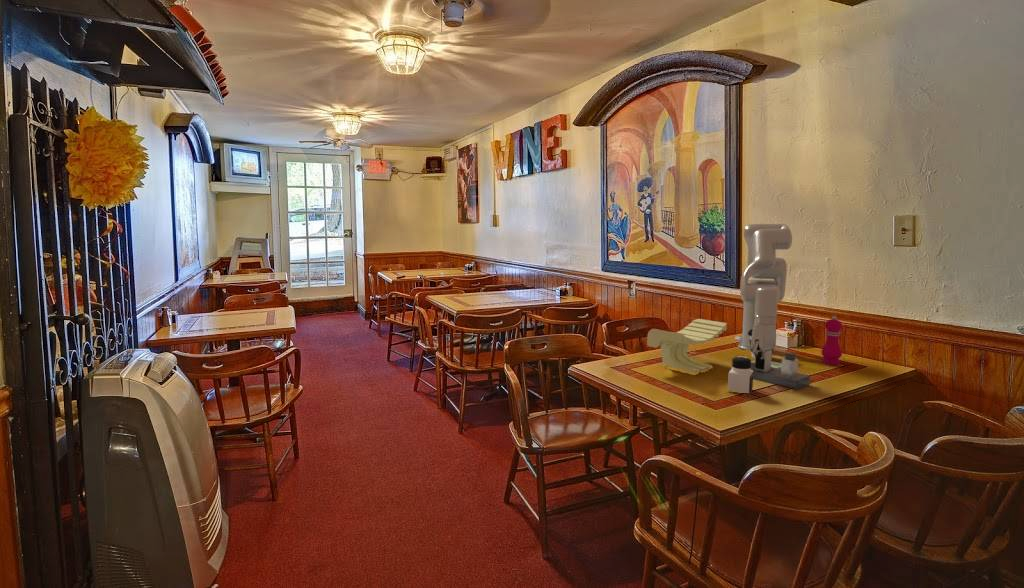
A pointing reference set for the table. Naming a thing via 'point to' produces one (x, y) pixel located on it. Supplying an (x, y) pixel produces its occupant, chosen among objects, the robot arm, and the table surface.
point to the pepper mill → (832, 342)
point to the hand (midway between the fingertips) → (762, 367)
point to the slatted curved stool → (685, 343)
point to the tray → (773, 364)
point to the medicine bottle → (740, 375)
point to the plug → (766, 361)
